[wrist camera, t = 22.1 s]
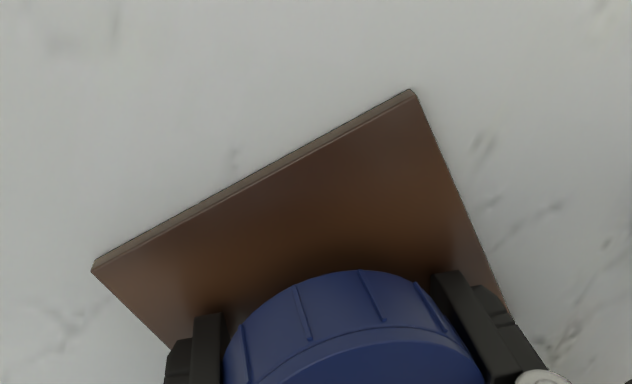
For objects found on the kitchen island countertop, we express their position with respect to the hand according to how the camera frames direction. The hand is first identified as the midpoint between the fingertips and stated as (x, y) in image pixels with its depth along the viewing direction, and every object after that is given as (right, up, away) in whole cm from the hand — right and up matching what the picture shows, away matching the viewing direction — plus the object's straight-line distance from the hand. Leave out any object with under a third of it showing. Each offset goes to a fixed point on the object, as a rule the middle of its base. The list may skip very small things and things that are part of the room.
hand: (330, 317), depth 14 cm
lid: (+1, -2, -3) cm, 3 cm away
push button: (0, 0, +1) cm, 1 cm away
